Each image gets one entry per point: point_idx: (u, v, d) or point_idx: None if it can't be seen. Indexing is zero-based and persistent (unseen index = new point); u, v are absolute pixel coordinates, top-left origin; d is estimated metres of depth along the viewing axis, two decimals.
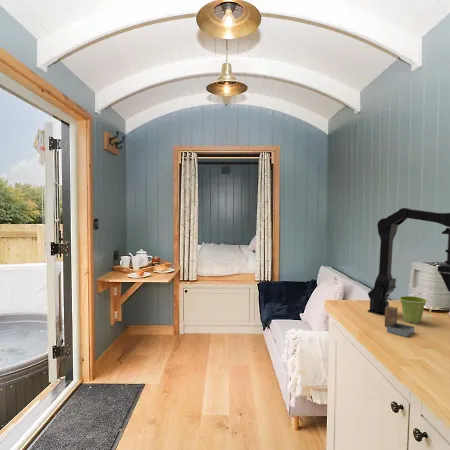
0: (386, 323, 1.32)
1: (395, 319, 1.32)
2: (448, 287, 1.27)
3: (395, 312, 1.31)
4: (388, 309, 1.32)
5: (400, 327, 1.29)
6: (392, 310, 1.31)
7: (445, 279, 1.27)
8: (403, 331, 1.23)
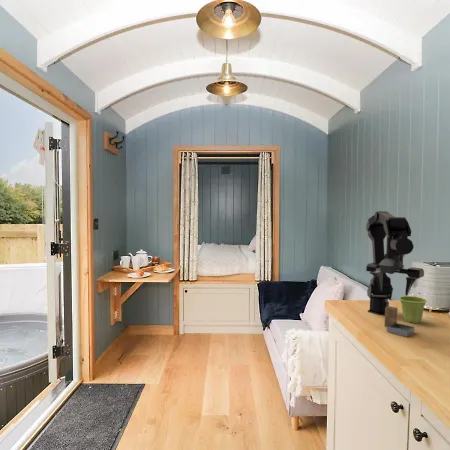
0: (386, 323, 1.32)
1: (395, 319, 1.32)
2: None
3: (395, 312, 1.31)
4: (388, 309, 1.32)
5: (400, 327, 1.29)
6: (392, 310, 1.31)
7: None
8: (403, 331, 1.23)
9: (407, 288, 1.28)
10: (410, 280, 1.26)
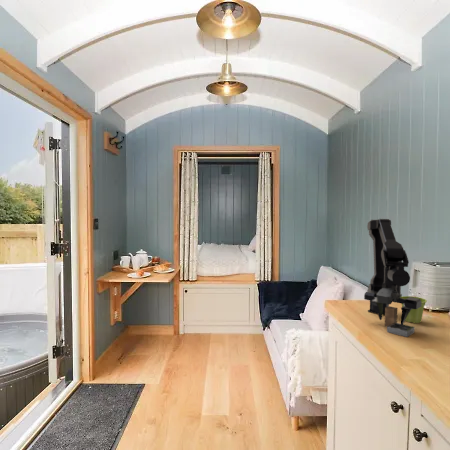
0: (386, 323, 1.32)
1: (395, 319, 1.32)
2: None
3: (395, 312, 1.31)
4: (388, 309, 1.32)
5: (400, 327, 1.29)
6: (392, 310, 1.31)
7: None
8: (403, 331, 1.23)
9: (402, 318, 1.29)
10: (405, 310, 1.27)
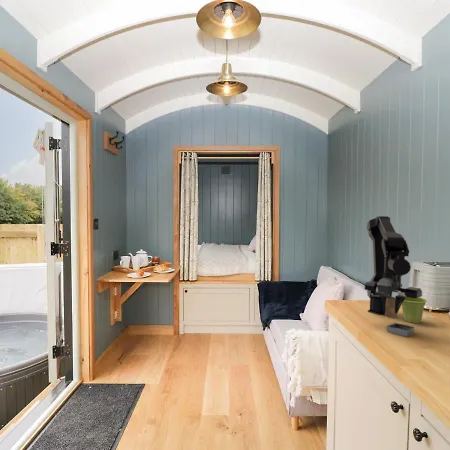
0: (386, 313, 1.32)
1: None
2: None
3: None
4: (389, 299, 1.31)
5: (400, 327, 1.29)
6: (393, 300, 1.30)
7: None
8: (403, 331, 1.23)
9: (397, 306, 1.30)
10: (400, 298, 1.28)
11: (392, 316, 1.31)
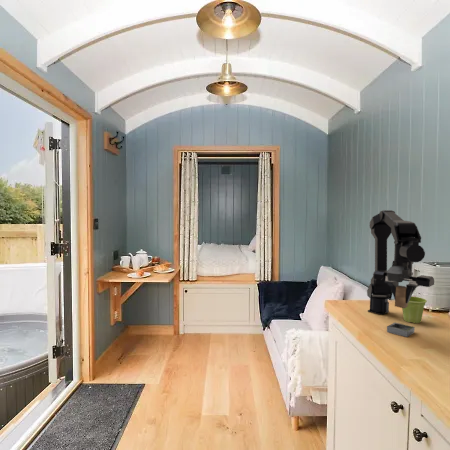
0: (396, 303, 1.26)
1: None
2: None
3: (406, 291, 1.24)
4: (399, 288, 1.25)
5: (400, 327, 1.29)
6: (404, 289, 1.24)
7: None
8: (403, 331, 1.23)
9: (407, 296, 1.23)
10: (411, 287, 1.21)
11: (402, 306, 1.24)
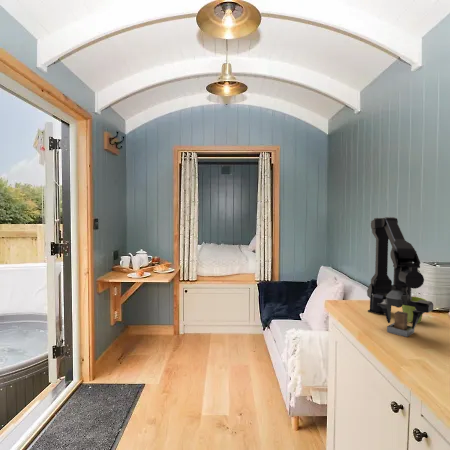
0: None
1: (405, 325, 1.25)
2: None
3: (405, 317, 1.25)
4: (398, 314, 1.25)
5: None
6: (402, 315, 1.24)
7: None
8: (403, 331, 1.23)
9: (414, 321, 1.22)
10: (417, 313, 1.20)
11: None
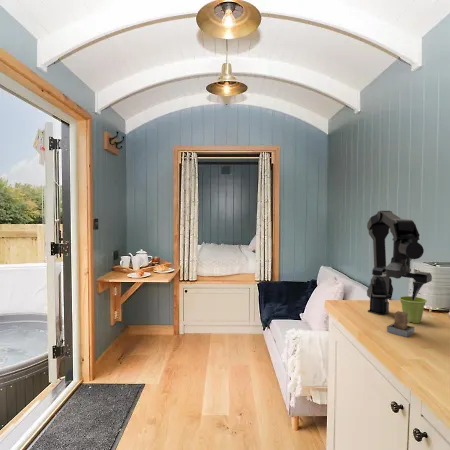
0: None
1: (405, 325, 1.25)
2: None
3: (405, 317, 1.25)
4: (398, 314, 1.25)
5: None
6: (402, 315, 1.24)
7: None
8: (403, 331, 1.23)
9: (414, 293, 1.25)
10: (417, 285, 1.23)
11: None
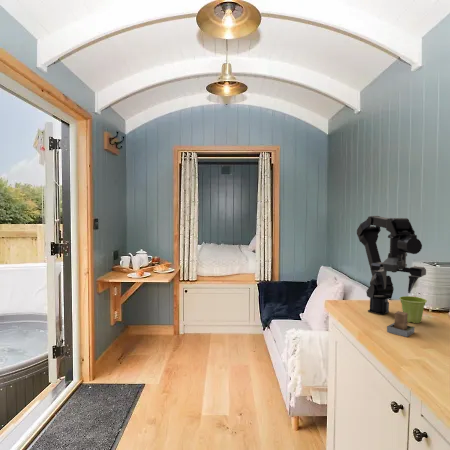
0: None
1: (405, 325, 1.25)
2: None
3: (405, 317, 1.25)
4: (398, 314, 1.25)
5: None
6: (402, 315, 1.24)
7: None
8: (403, 331, 1.23)
9: (410, 286, 1.33)
10: (413, 278, 1.31)
11: None
